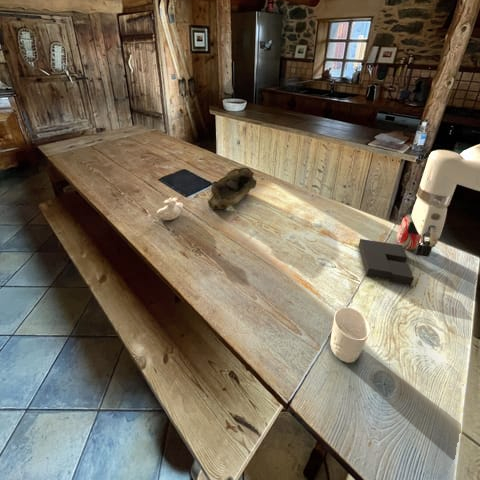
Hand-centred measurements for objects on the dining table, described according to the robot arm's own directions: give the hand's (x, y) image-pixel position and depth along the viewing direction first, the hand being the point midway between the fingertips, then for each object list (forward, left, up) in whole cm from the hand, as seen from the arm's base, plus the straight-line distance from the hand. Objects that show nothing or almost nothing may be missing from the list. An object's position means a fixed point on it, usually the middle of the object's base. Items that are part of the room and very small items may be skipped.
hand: (416, 243), depth 79 cm
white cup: (+19, +28, -15) cm, 37 cm away
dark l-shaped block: (+5, -5, -15) cm, 17 cm away
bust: (+87, -5, -15) cm, 89 cm away
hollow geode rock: (+66, -26, -15) cm, 73 cm away
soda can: (-5, -18, -15) cm, 24 cm away
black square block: (+1, -1, -15) cm, 15 cm away
